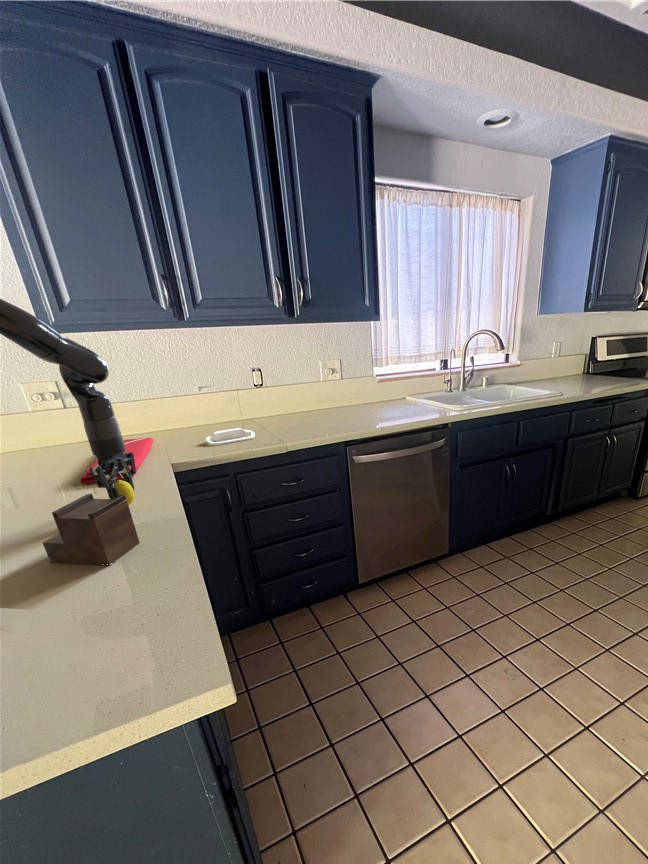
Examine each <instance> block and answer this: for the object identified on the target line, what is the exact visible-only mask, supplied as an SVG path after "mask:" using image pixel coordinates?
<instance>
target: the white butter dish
mask: <svg viewBox="0 0 648 864" xmlns="http://www.w3.org/2000/svg"><path fill="white" fill-rule="evenodd" d="M246 433H247V434H250V435H249V436H245V434H246ZM255 436H256V434H255V432H254V431H253V430H249V429H243V428H241V427H236V428H231V429H230V428H229V429H224V430H218V431H213V434H212V435H209V436H207V437H206V438H205V442H206V443H207V444H208V445H211V446H219V445H220V446H221V445H226V444H232V443H237V442H242V441H247V440H248V441H249V440H251V439H253V438H255ZM211 439H212V440H213V441H211Z"/></svg>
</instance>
